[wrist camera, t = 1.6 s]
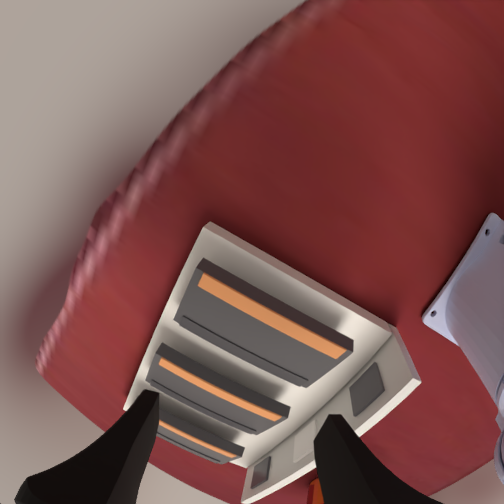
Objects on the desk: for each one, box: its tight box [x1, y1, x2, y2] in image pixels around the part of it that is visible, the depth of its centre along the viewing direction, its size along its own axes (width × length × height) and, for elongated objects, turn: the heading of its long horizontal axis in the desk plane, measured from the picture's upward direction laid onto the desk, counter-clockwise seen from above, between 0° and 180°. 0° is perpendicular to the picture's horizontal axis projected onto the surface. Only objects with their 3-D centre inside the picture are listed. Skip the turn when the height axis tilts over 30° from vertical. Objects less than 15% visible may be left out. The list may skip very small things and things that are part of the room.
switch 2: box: [145, 342, 291, 435], centre depth 20 cm, size 5×10×1 cm, turn 62°
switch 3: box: [136, 395, 245, 464], centre depth 22 cm, size 5×10×1 cm, turn 62°
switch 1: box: [173, 257, 354, 388], centre depth 17 cm, size 5×10×1 cm, turn 62°
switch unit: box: [123, 221, 421, 504], centre depth 20 cm, size 21×15×6 cm
